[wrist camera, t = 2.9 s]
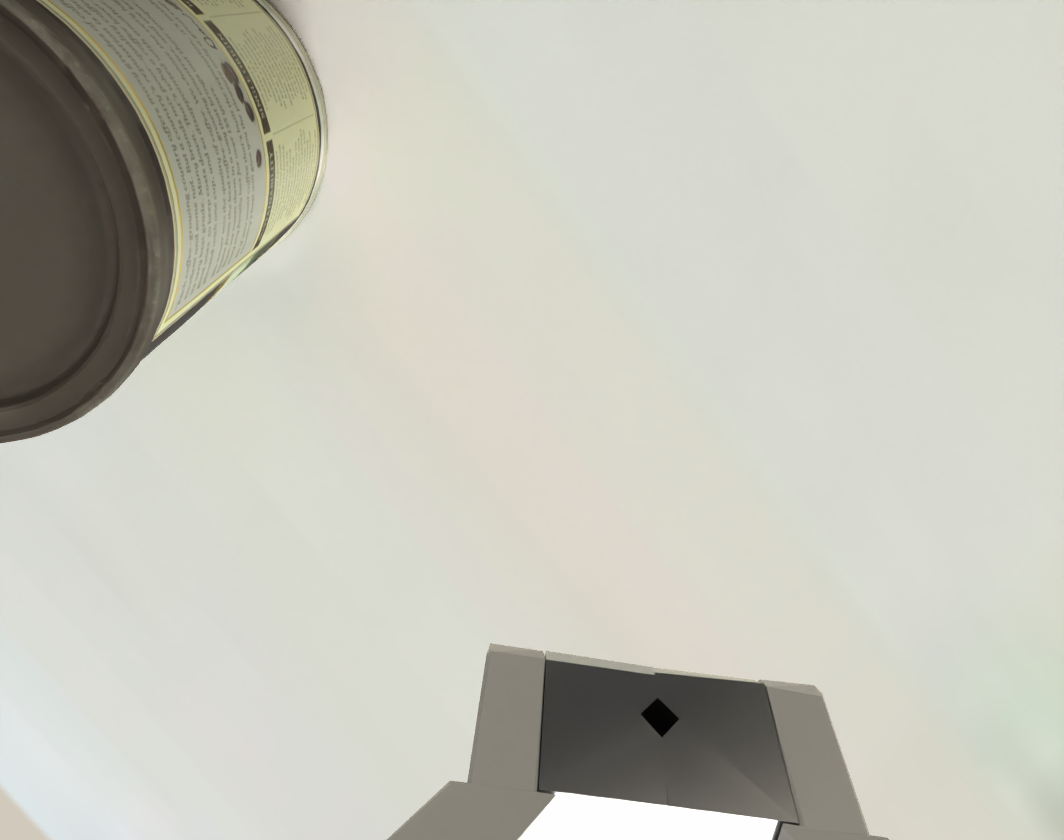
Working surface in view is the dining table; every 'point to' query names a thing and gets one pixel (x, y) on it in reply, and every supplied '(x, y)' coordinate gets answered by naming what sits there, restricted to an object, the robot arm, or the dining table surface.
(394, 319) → the dining table surface
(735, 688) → the robot arm
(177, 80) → the coffee can
